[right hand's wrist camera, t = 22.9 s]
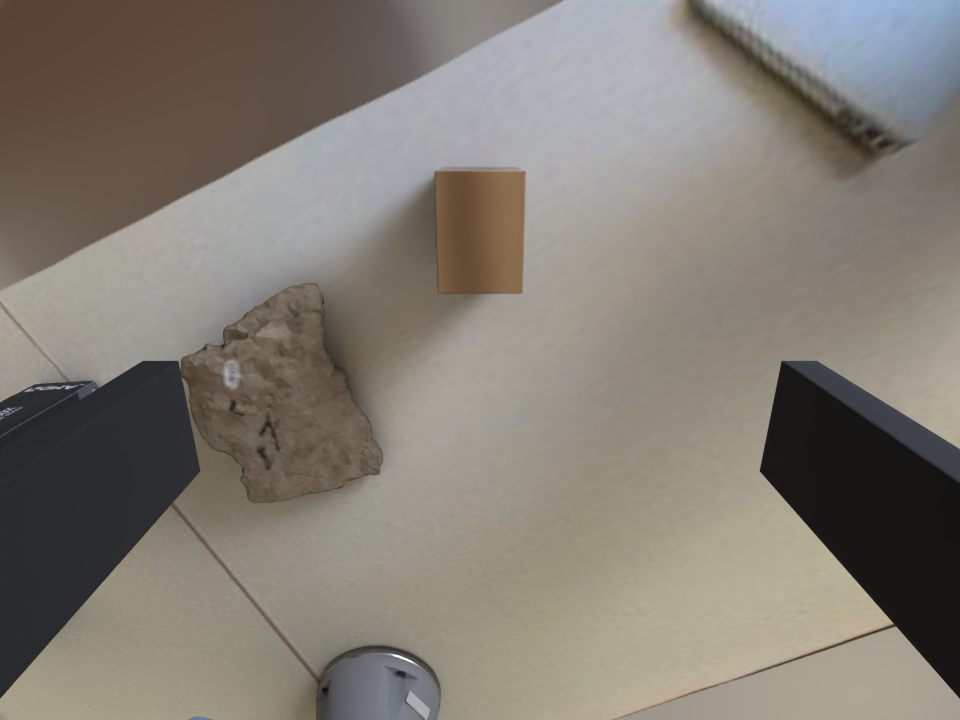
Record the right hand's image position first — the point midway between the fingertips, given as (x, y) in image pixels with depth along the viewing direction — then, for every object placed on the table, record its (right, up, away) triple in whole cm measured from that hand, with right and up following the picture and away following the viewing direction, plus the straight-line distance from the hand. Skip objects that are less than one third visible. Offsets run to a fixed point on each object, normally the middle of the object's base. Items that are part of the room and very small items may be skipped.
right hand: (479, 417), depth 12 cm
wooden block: (0, +14, +38) cm, 41 cm away
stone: (-19, -2, +44) cm, 48 cm away
